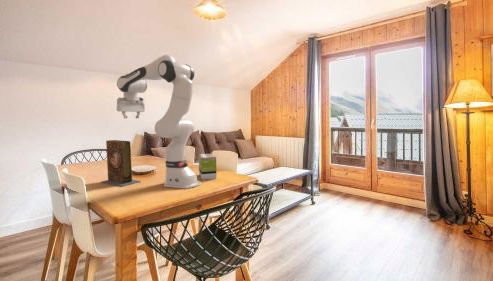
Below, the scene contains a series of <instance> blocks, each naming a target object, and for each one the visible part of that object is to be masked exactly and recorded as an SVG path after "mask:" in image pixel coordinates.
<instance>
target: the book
mask: <svg viewBox="0 0 493 281" xmlns="http://www.w3.org/2000/svg"><path fill="white" fill-rule="evenodd" d="M105 142H106V143H105V144H106V145H105V146H106V162H107V164H106V165H107V180H108V181H112V182H117V183H125V182H131V181H132V180H133V175H132V174H133V172H132V148H131V140H117V139H112V140H111V139H108V140H106V141H105Z"/></svg>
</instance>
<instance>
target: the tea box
mask: <svg viewBox="0 0 493 281" xmlns="http://www.w3.org/2000/svg"><path fill="white" fill-rule="evenodd" d="M198 175H199V177H200V178H201V180H203V181H204V179H205V180H214V179H215V180H216V179H217V156H216V155H214V154H213V153H200V154H198Z"/></svg>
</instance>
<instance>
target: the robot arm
mask: <svg viewBox="0 0 493 281" xmlns="http://www.w3.org/2000/svg"><path fill="white" fill-rule="evenodd" d="M194 70H195V69H194V68H193V67H192V66H190V65H188V64H185V63H183V62H179V61H176V59H175V58H174V57H173V56H172V55H170V54H164V55H162V56H159V57H158V58H156V59H155V60H154V61H152V62H150V63H148V64H147V65H146V64H145V65H144V66H141V67H138V68H137V69H135V70H133V71H131V72H130V73H126V74H124V75H121V76H120V77H119V78H118V79H117V81H116V87H117V88H118V89H119V90H120V92H122V93H123V97H118V98H117V99H116V111H117V112H121V115H122V116H123V119H128V115H126V113H128V112H129V113H130V112H131V113H132V112H133V113H136V115H135V119H139V118H140V115H141V113H144V112H145V109H146V106H145V102H144V101H145V98H144V97H141V96H139V95H138V93H139V94H140V93H141V94H142V93H145V92H146V91H147V88H148V84H147V80H149V81H151V80H152V81H160V80H165V81H166V82H167V83H172V84H173V88H172V93H171V98H170V103H169V106H168V109H167V110H166V112H165V114H164V115H163V116H162V117H161V118H160V119H159V120H157V121H156V122H155V125H154V133H155V135H156V136H158V138H165V139H169V138H171V142H170V143H169V144H168V145H167V146H166V148H165V157H166V158H165V167H166V168H165V169H166V170H165V176H164V178H165V179H164V183H163V186H164V187H165V188H175V189H191V188H195V187H198V186H200V185H202V182H201V181H200V180H198V176H197V173H196V172H195V171H193V169H191V168H190V167H189V164H190V163H189V161H187V159H186V147H187V142H188V140H189V137H190V136H191V135H192V134H193V133H194V130H195V126H194V123H193V122H192V120H189V119H186V118H183V117H184V116H185V115H186V114H188V112H189V111H190V106H191V102H192V98H193V92H194V91H193V88H194V83H193V80H194V79H195V78H194V77H195V71H194Z"/></svg>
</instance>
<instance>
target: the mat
mask: <svg viewBox="0 0 493 281" xmlns="http://www.w3.org/2000/svg"><path fill="white" fill-rule="evenodd" d="M137 183H141V180H137V179H132V181H131V182H125V183H117V182H112V181H108V179H107V180H103V181H100V184H105V185H106V184H107V185H109V186H111V185H112V186H117V187H120V188H123V187H126V186H130V185H133V184H137Z"/></svg>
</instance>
